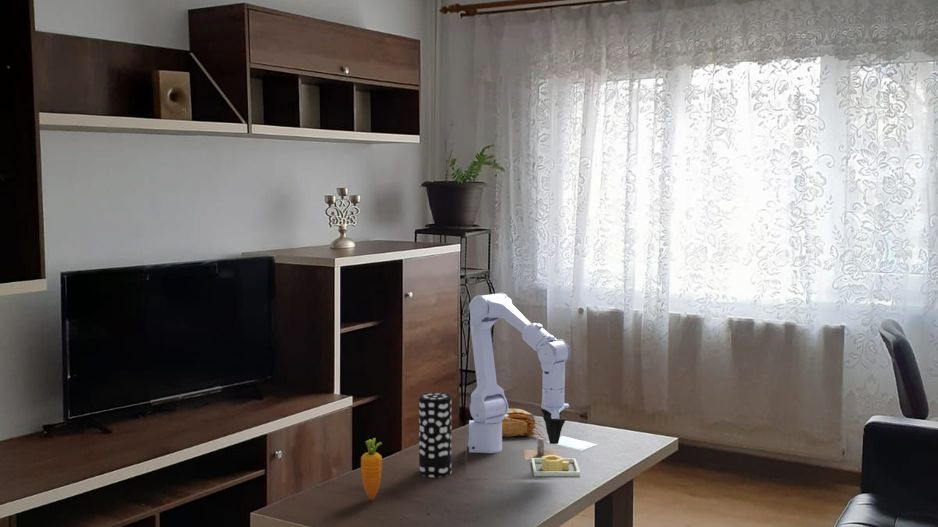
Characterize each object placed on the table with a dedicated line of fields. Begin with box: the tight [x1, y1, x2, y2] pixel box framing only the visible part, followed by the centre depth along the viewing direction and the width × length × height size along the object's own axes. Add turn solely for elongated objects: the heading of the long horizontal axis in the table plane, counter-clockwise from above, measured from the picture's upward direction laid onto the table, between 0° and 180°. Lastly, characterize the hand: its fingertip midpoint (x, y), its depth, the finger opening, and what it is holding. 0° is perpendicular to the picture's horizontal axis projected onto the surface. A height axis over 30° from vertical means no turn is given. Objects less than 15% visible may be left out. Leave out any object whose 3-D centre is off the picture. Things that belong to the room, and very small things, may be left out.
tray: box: [531, 457, 581, 477], centre depth 241 cm, size 12×12×2 cm
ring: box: [541, 455, 570, 471], centre depth 240 cm, size 5×7×3 cm
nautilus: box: [502, 407, 547, 441], centre depth 272 cm, size 8×22×15 cm
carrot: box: [360, 437, 383, 501], centre depth 219 cm, size 5×5×15 cm
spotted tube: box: [418, 392, 452, 478], centre depth 239 cm, size 8×8×20 cm
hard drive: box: [546, 435, 599, 452], centre depth 263 cm, size 2×8×12 cm
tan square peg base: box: [522, 437, 558, 461], centre depth 252 cm, size 9×9×5 cm
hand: (552, 439), depth 240 cm, fingers open, 7 cm apart
